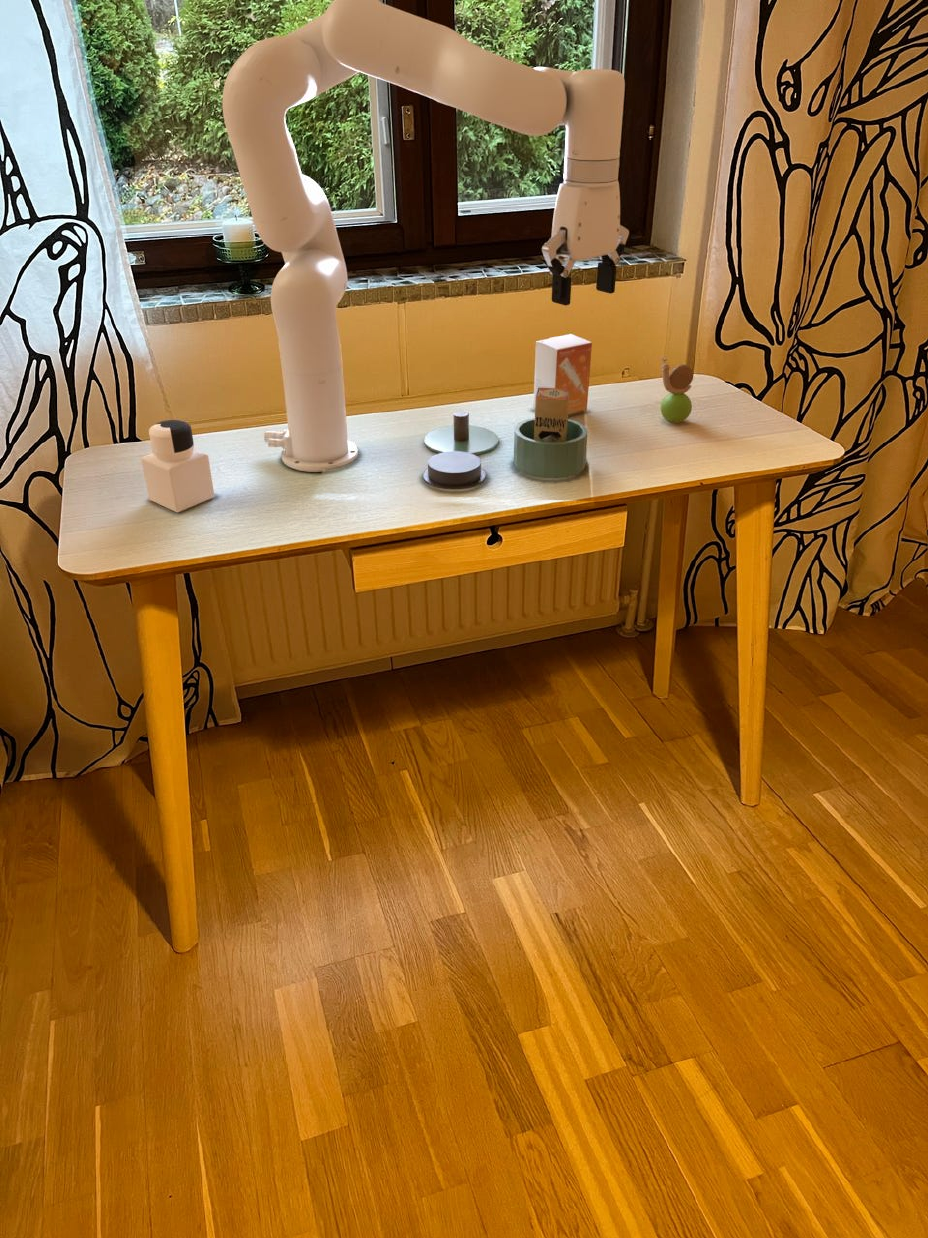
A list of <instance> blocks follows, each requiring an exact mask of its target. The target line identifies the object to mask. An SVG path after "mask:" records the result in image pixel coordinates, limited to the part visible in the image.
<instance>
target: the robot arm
mask: <svg viewBox="0 0 928 1238" xmlns="http://www.w3.org/2000/svg"><path fill="white" fill-rule="evenodd" d="M360 73H361V74H365V75H367V76H370V77H373V78H376V79H379V80H381V81H385V82H387V83H390V84H392V85H395V86H398V87H401V88H403V89H406V90H408V91H411V92H413V93H417V94H419V95H421V96H424V97H427V98H429V99H432V100H434V101H436V102H437V103H440V104H443V105H445V106H448V107H449V106H450V107H451V108H455V109H457V110H459V111H461V112H464V113H467V114H469V115H471V116H474V117H476V118H479V119H480V120H484V121H485V122H489V123H491V124H495V125H497V126H500V127H503V128H506V129H509V130H511V131H513V132H517V133H519V134H522V135H526V136H531V137H541V136H544V135H545V136H546V135H548V134H550V133H552V132H553V131H554V130H555V129H556V128H557V127H559V126H565V142H564V160H563V161H564V162H563V182H562V183H559V187H558V190H557V194H556V199H555V204H554V210H553V218H552V227H551V237H550V238H549V239H548V241H546V242H545V243H544V244H543V245H542V247H541V252H542V254H543V258H544V264H545V266H546V267H547V269H548V271H549V274H550V275H552V281H551V284H552V285H551V302H552V303H555V304H558V305H562V306H566V307H567V306H569V305H570V304H571V297H572V279H573V278H572V276H569V275H570V273H571V271H572V269H573V267H574V266H575V264H576V262H581V261H586V260H591V259H595V258H599V260H600V261H598V263H597V268H596V269H597V270H596V283H595V289H596V290H597V292H602V293H607V294H614V293H615V291H616V279H617V266H619V264H620V262H621V256H622V255H623V253H624V251H625V248H626V247H625V245H626V244H627V243H626V242H627V241H628V238H629V235H630V231H629V229H628V228H626V227H625V226H623V225H621V196H620V195H621V191H620V183H619V171H620V170H619V169H620V156H621V141H622V130H623V129H622V127H623V116H624V104H625V103H624V102H625V90H626V89H625V87H626V82H625V81H626V80H625V77H624V75H623V74H622V73H621V72H620V71H618V70H614V69H608V68H607V69H605V68H604V69H603V68H590V69H589V68H587V69H581V70H577V71H576V70H565V69H558V68H553V67H547V66H546V67H545V66H536V67H530V66H528V65H525V64H522V63H520V62H516V61H514V60H511V59H509V58H506V57H504V56H501V55H498V54H496V53H494V52H491V51H489V50H487V49H484V48H482V47H480V46H478V45H476V44H474V43H473V42H471V41H469V40H468V39H467V38H465V36H463V35H462V34H460V33H459V32H457V31H455V30H454V29H452V28H450V27H448V26H446V25H443V24H440V23H437V22H434V21H431V20H429V19H426V18H424V17H421V16H418V15H414V14H412V13H410V12H407V11H405V10H401V9H399V8H396V7H393V6H391V5H388V4H386V3H384V2H382V1H380V0H332V2H330V4H329V5H328V6H327V8H326V10H325V12H324V13H322V14H321V15H319V16H318V17H316V18H313V19H312V20H311V21H308V22H307V23H305V24H303V25H302V26H300V27H298V28H296V29H295V30H292V31H290V32H289V33H287V34H285V35H281V36H272V37H268V38H264V39H261V40H259V41H258V42H256V43H254V44H252V45H250V46H249V47H248V48H247V49H246V50H245V51H244V52H242V54H241V55H239V57H238V58H237V60H236V61H235V62H234V63H233V65H232V66H231V68H230V70H229V72H228V74H227V76H226V79H225V81H224V86H223V90H222V100H221V102H222V106H221V107H222V115H223V121H224V124H225V128H226V133H227V137H228V139H229V142H230V145H231V148H232V152H233V155H234V158H235V161H236V165H237V169H238V173H239V177H240V180H241V183H242V187H243V190H244V193H245V196H246V201H247V203H248V207H249V211H250V214H251V217H252V220H253V224H254V227H255V231H256V233H257V235H258V236H259V238H260V240H261V242H263V244H264V245H265V246H267V247H268V248H269V249H271V250H272V251H274V252H278V253H281V256H282V258H283V261H284V265H283V267H281V269H279V271H278V272H277V274H276V276H275V278H274V279H273V282H272V285H271V290H270V307H271V313H272V317H273V321H274V325H275V330H276V335H277V340H278V341H277V342H278V349H279V357H280V366H281V372H282V373H281V374H282V383H283V392H284V401H285V411H286V412H285V413H286V420H287V421H286V422H287V429H283V431H277V430H265V431H264V434H263V441H264V442H265V443H267V447H268V448H281V449H282V450H281V461H282V463H283V464H284V465H286V466H287V467H288V468H290V469H293V470H296V471H301V472H308V473H321V472H324V471H327V470H332V469H338V468H341V467H345V466H346V465H348V464H350V463H352V462H354V461H355V460H356V459H357V458H358V456H359V449H358V446H357V444H355V443H354V442H352V441H351V440H349V437H348V436H349V435H348V422H347V409H346V398H345V397H346V394H345V379H344V367H343V355H342V345H341V337H340V332H339V331H340V330H339V325H338V320H337V306H338V304H339V303H340V302H341V300H342V299H343V296H344V295H345V293H346V291H347V287H348V269H347V264H346V261H345V257H344V253H343V250H342V246H341V242H340V239H339V235H338V231H337V226H336V224H335V220H334V217H333V213H332V209H331V205H330V203H329V199H328V198H327V195H326V194H325V192H324V190H323V189H322V188H321V186H320V185H319V184H318V183H317V182H316V181H315V180H314V179H312V178H311V177H310V176H308V175H305V174H303V173H302V170H301V167H300V163H299V160H298V155H297V151H296V147H295V143H294V142H293V139H292V136H291V134H290V132H289V129H288V126H287V122H286V114H287V112H288V111H289V109H291V108H293V107H296V106H298V105H301V104H304V103H307V102H309V101H310V100H312V99H314V98H316V97H317V96H319V95H321V94H323V93H324V92H326V91H328V90H330V89H332V88H333V87H336V86H337V85H339V84H341V83H343V82H345V81H346V80H348V79H350V78H352V77H354V76H355V75H357V74H360ZM564 261H565V263H564V265H563V262H564ZM265 443H264V444H265Z"/></svg>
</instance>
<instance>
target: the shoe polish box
mask: <svg viewBox="0 0 928 1238" xmlns="http://www.w3.org/2000/svg"><path fill="white" fill-rule="evenodd" d="M569 391H570V389H560V388H539V387H538V391H537V395H536V401H535V409H534V418H535V426H534V440H536V441H542V442H566V441H567V425H568V419H569V414H568V408H569Z"/></svg>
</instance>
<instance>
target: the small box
mask: <svg viewBox="0 0 928 1238" xmlns="http://www.w3.org/2000/svg"><path fill="white" fill-rule="evenodd" d="M592 347H593V342H592V341H590V340H587V339H585V338H583V337H580V336H578V335H575V334H573V333H569V334H568V333H567V334H564V335H560V336H553V337H549V338H546V339H540V340H536V341H535V358H534V380H533V381H534V382H533V405H532V406H533V407H532V408H533V409H534V410H535V401H536V395H537V391H538V387H539V388H560V389H570V391H569V408H568V415H569V414H574V413H578V412H581V411H583V413H587V411H588V401H589V387H590V385H589V384H590V375H591V364H592V363H591V362H592Z"/></svg>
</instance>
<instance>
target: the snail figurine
mask: <svg viewBox="0 0 928 1238" xmlns="http://www.w3.org/2000/svg"><path fill="white" fill-rule="evenodd" d="M661 360H662V361H663V364H662V365H661V371H662V382H663V386H664V388H665V390H666V391H667V392H668V394H666V395H665V396H664V397H663V398H662V400H661V403H660V413H661V415H662V417H663V418H664V419H665V420H666V421H667V422H669V423H674V424H677V423H682V422H684V421H685V420H687V418H689V417H690V415H691V412H692V409H693V404H692V401H691V398H690V397H689V396H688V395H687V394H686V393H687V392H688V391H690V389H691V388H692V385H691V384H692V382H693V380H694V370H693V368H692V367H691V366H689V365H687V364H679V365H676V366H674V368H673V369H672V370H671V369H670V368H671V367H670V365H669V364H668V363H666V362H667V361H668V358H666V357H664V356H662V358H661ZM670 370H671V371H670Z"/></svg>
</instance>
